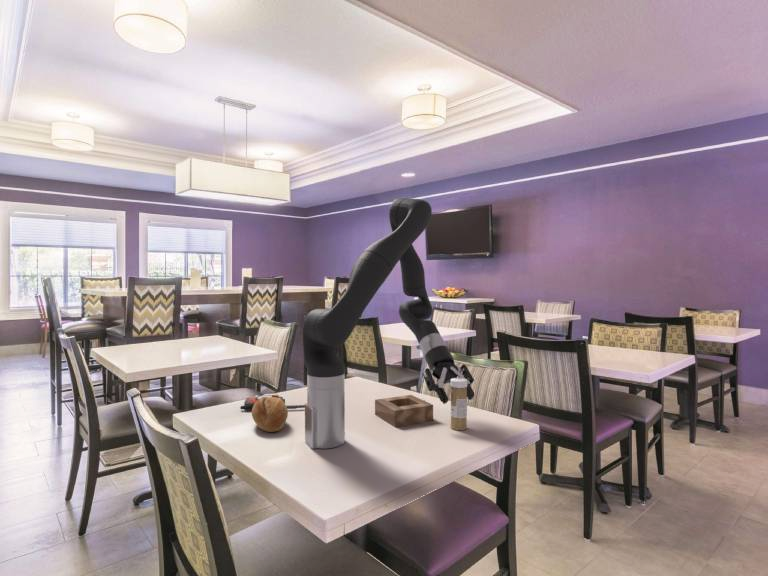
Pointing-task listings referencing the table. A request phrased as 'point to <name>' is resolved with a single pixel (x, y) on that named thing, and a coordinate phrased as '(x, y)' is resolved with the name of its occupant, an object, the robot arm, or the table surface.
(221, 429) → the table surface
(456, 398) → the sprinkles bottle
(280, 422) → the bread roll
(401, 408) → the walnut bottle stand
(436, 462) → the table surface
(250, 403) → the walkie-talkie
